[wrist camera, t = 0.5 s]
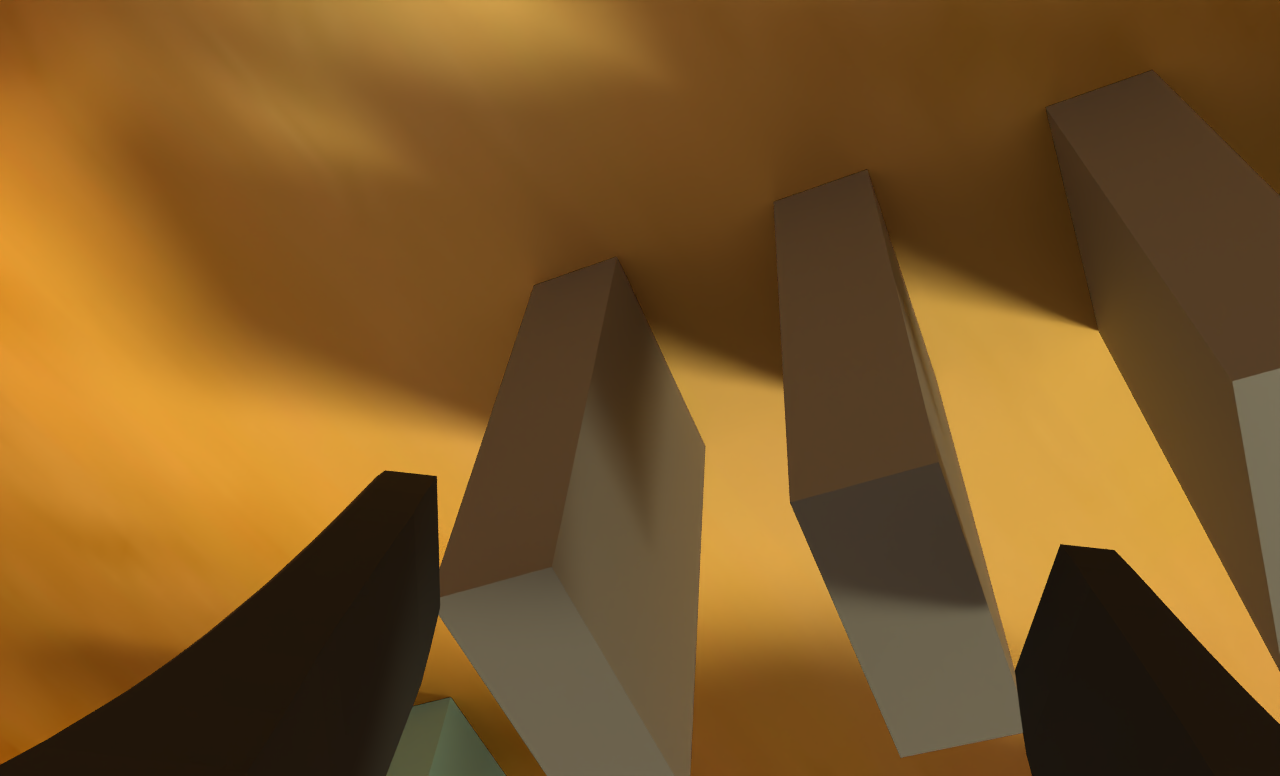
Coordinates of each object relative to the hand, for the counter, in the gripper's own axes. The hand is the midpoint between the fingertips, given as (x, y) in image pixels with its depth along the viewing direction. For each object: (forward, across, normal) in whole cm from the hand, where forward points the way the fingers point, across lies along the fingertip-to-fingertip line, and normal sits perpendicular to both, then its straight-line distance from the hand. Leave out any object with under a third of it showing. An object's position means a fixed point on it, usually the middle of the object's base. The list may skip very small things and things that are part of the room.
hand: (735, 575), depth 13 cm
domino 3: (+10, -7, -1) cm, 12 cm away
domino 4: (+10, -2, +1) cm, 10 cm away
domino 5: (+10, +2, +3) cm, 11 cm away
